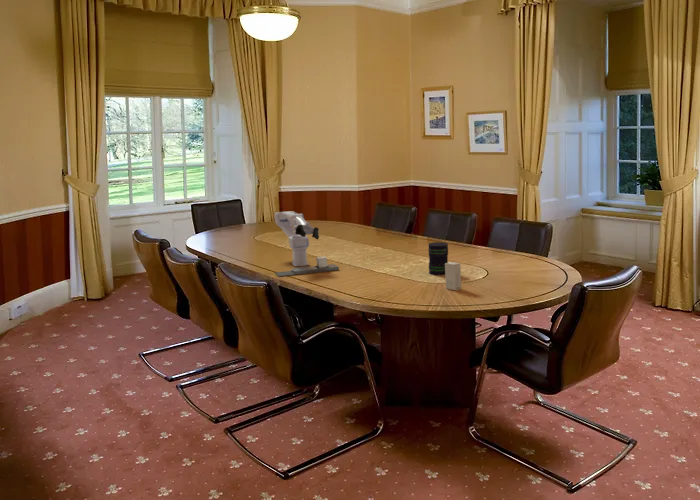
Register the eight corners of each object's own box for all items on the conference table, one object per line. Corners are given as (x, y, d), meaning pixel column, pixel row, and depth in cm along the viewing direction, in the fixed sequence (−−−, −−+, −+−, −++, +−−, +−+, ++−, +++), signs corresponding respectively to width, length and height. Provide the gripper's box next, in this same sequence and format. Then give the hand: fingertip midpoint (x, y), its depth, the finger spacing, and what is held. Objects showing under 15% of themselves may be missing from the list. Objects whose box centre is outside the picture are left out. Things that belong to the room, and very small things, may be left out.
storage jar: (425, 272, 350) (425, 243, 348) (443, 270, 353) (442, 241, 350) (433, 276, 341) (433, 246, 338) (451, 274, 344) (451, 244, 341)
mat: (275, 273, 361) (274, 272, 361) (291, 271, 364) (291, 270, 364) (278, 276, 353) (278, 276, 353) (295, 275, 356) (295, 274, 355)
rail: (291, 271, 363) (290, 268, 363) (334, 267, 371) (334, 263, 370) (294, 275, 356) (294, 271, 356) (338, 270, 363) (338, 266, 363)
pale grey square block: (316, 269, 366) (316, 257, 365) (325, 269, 367) (324, 256, 366) (319, 271, 362) (318, 258, 360) (327, 270, 363) (326, 257, 362)
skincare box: (461, 289, 314) (461, 263, 312) (455, 290, 311) (455, 264, 309) (451, 286, 319) (450, 261, 316) (444, 288, 316) (444, 263, 313)
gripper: (292, 216, 364) (301, 227, 353) (317, 221, 371) (326, 231, 360) (288, 228, 366) (297, 239, 355) (313, 233, 373) (321, 243, 362)
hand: (311, 236), depth 358 cm, fingers open, 7 cm apart
